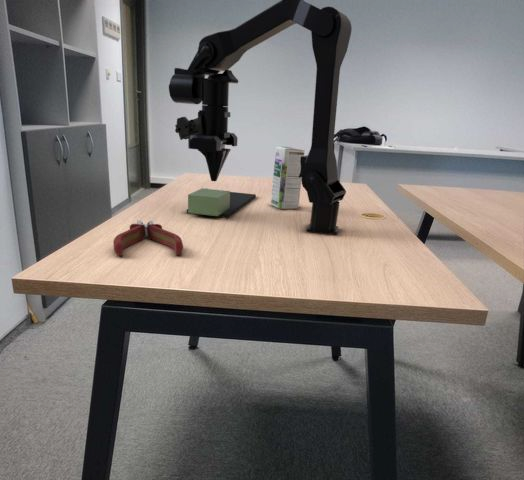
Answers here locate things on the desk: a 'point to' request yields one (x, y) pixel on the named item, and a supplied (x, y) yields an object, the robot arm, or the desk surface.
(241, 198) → the charcoal mat
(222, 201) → the sage block
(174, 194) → the desk surface
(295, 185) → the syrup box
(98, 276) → the desk surface
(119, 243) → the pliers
